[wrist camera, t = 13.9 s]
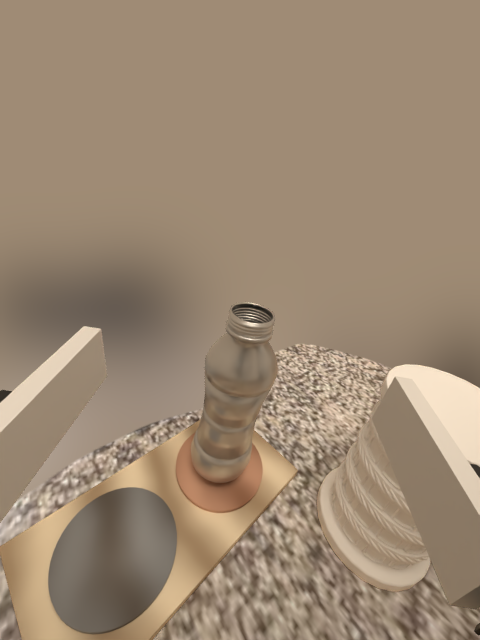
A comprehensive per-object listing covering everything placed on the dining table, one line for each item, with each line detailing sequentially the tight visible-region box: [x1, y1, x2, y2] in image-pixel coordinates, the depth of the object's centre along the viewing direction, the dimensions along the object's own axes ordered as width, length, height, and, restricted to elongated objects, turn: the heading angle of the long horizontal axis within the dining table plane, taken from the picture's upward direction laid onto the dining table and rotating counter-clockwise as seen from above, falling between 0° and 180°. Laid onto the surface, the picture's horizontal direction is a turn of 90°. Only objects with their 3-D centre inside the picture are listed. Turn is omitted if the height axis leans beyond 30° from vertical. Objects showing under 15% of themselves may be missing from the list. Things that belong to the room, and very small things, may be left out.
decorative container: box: [316, 365, 480, 592], centre depth 26 cm, size 12×12×18 cm
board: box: [0, 420, 298, 640], centre depth 28 cm, size 26×13×2 cm, turn 136°
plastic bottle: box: [191, 302, 278, 483], centre depth 27 cm, size 6×7×20 cm
